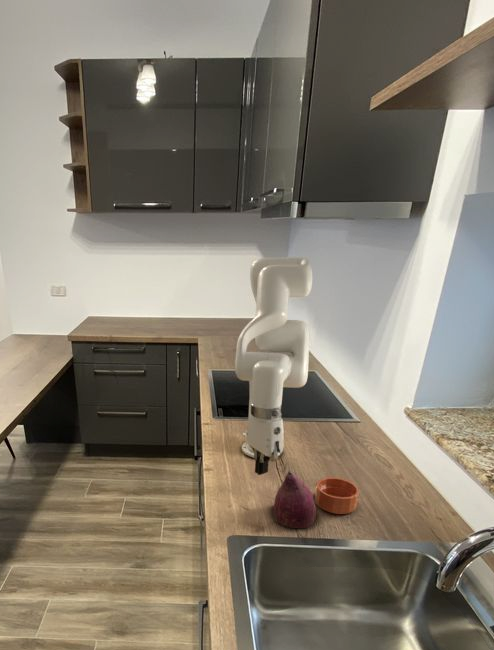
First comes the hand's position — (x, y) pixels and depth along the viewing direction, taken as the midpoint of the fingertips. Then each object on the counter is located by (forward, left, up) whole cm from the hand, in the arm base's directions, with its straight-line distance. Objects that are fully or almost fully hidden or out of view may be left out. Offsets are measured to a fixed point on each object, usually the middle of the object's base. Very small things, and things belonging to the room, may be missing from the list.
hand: (261, 472), depth 120 cm
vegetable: (+14, -1, -6) cm, 15 cm away
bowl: (+15, +12, -6) cm, 20 cm away
